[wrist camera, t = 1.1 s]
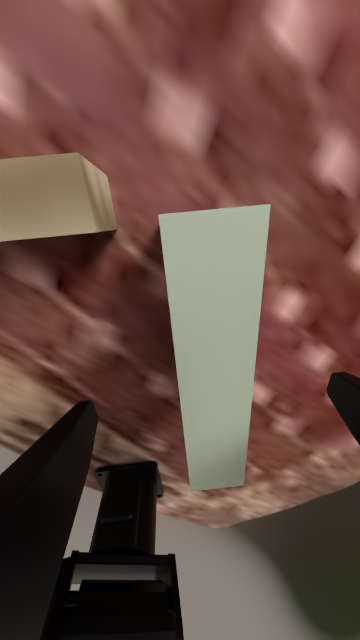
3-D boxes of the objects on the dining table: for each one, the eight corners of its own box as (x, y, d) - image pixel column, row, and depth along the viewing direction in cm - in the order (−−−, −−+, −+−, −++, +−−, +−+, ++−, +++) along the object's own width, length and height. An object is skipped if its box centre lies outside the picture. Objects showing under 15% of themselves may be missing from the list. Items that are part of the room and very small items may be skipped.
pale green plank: (211, 374, 17) (243, 485, 10) (180, 378, 17) (190, 491, 10) (207, 215, 12) (270, 204, 5) (163, 219, 12) (158, 214, 5)
